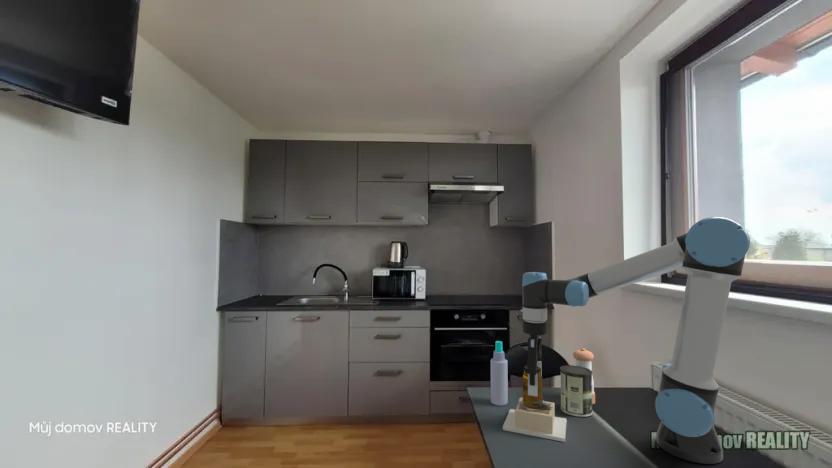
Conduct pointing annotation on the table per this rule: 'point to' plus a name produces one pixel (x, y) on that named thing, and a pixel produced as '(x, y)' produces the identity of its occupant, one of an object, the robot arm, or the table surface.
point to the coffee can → (576, 390)
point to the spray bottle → (499, 376)
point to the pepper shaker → (585, 364)
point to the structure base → (554, 436)
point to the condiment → (533, 401)
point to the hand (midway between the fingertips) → (535, 387)
